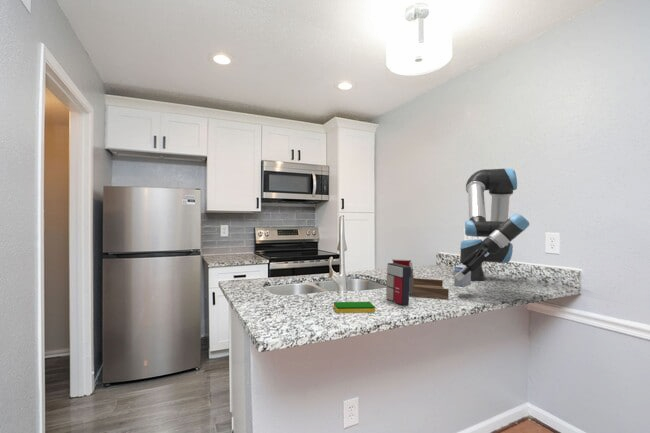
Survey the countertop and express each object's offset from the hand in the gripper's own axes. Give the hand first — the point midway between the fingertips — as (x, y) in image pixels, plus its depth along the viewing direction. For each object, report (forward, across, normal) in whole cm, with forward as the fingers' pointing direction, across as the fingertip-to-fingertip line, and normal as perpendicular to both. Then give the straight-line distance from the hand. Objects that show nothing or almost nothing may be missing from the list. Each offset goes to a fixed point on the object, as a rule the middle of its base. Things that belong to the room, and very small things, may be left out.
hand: (454, 276), depth 138 cm
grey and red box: (+23, -21, +12) cm, 34 cm away
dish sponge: (+34, -38, +22) cm, 56 cm away
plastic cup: (+23, +28, +10) cm, 38 cm away
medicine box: (+1, 0, -5) cm, 5 cm away
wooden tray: (+14, +2, +2) cm, 15 cm away
